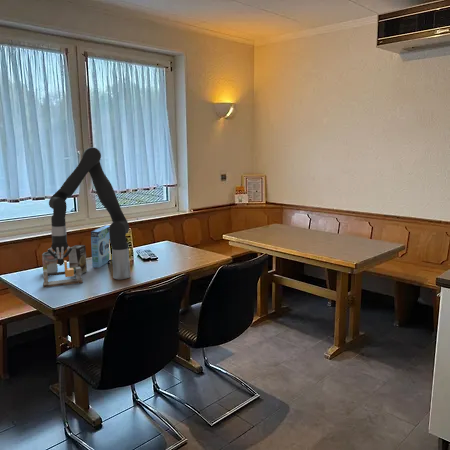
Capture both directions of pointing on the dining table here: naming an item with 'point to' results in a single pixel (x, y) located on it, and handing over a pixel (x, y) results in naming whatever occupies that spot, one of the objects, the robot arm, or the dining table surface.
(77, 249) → the coffee box
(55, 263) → the beverage can
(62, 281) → the cord rig
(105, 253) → the light blue box
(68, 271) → the sleeve
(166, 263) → the dining table surface
